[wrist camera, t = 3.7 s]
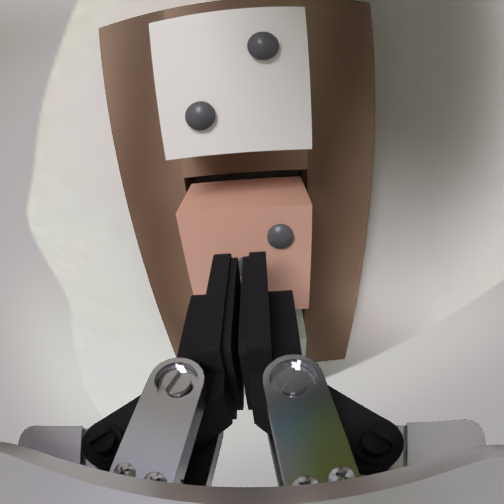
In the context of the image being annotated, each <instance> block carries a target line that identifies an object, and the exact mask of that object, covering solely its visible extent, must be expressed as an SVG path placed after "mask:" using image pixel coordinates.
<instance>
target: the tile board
mask: <svg viewBox="0 0 504 504" xmlns="http://www.w3.org/2000/svg"><path fill="white" fill-rule="evenodd" d="M255 7H305V15H306V27H307V39H308V54H309V71H310V91H311V118H312V149H297V150H273V151H256V152H242V153H229V154H218V155H208V156H198V157H189V158H181V159H173V160H166V158H165V152H164V146H163V139H162V133H161V126H160V119H159V112H158V105H157V98H156V90H155V82H154V73H153V64H152V55H151V45H150V34H149V23H152V22H156V21H161V20H165V19H170V18H175V17H181V16H186V15H192V14H198V13H205V12H212V11H220V10H229V9H240V8H255ZM99 38H100V49H101V59H102V68H103V76H104V84H105V92H106V98H107V105H108V111H109V118H110V123H111V129H112V135H113V140H114V145H115V150H116V155H117V160H118V165H119V170H120V174H121V179H122V183H123V187H124V192H125V196H126V200H127V204H128V208H129V212H130V216H131V220H132V223H133V227H134V231H135V234H136V238H137V242H138V245H139V249H140V252H141V255H142V259H143V262H144V265H145V269H146V272H147V275H148V278H149V281H150V285H151V288H152V291H153V294H154V297H155V300H156V303H157V306H158V309H159V311H160V314H161V317H162V320H163V323H164V326H165V328H166V331H167V334H168V336H169V339H170V342H171V344H172V347H173V350H174V352H175V355H176V357H177V353H178V349H179V344H180V340H181V336H182V331H183V327H184V323H185V318H186V314H187V310H188V306H189V302H190V298H191V296H192V295H193V291H192V287H191V282H190V278H189V274H188V269H187V265H186V260H185V256H184V251H183V247H182V242H181V237H180V233H179V228H178V223H177V218H176V212H177V210H178V208H179V206H180V204H181V203H182V201H183V199H184V197H185V195H186V193H187V191H188V190H189V188H190V186H191V184H194V183H195V178H194V177H197V176H208V175H219V174H231V173H244V172H260V171H277V170H301V179H302V181H303V183H304V186H305V188H306V191H307V193H308V195H309V198H310V200H311V203H312V243H311V271H310V293H309V308H307V309H302V313H303V319H304V325H305V332H306V338H307V340H306V353H305V356H306V357H308V358H310V359H312V360H313V361H315V362H317V361H328V360H337V359H345V355H346V350H347V346H348V341H349V337H350V332H351V327H352V322H353V317H354V311H355V306H356V301H357V295H358V289H359V283H360V277H361V270H362V264H363V257H364V249H365V242H366V234H367V225H368V216H369V206H370V195H371V183H372V168H373V150H374V121H375V79H374V51H373V34H372V21H371V10H370V3H368V2H361V1H353V0H221V1H213V2H205V3H199V4H193V5H187V6H181V7H176V8H171V9H166V10H162V11H157V12H153V13H149V14H145V15H141V16H137V17H134V18H130V19H127V20H123V21H120V22H117V23H114V24H111V25H107V26H104V27H102V28H99Z"/></svg>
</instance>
